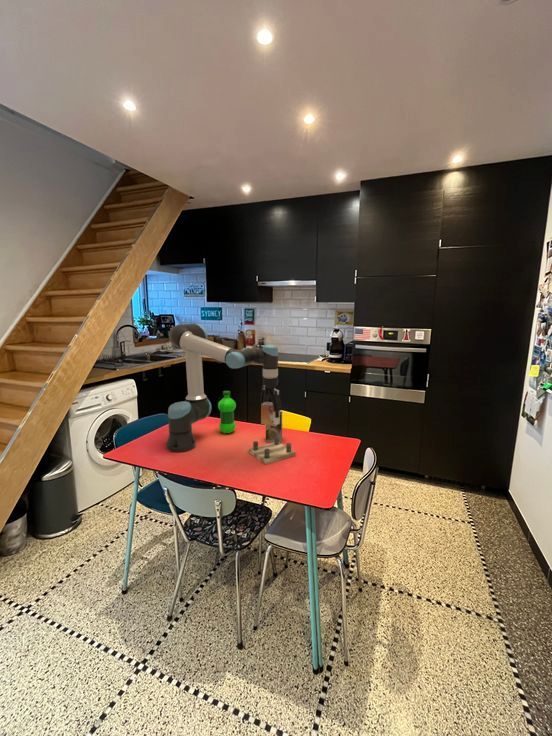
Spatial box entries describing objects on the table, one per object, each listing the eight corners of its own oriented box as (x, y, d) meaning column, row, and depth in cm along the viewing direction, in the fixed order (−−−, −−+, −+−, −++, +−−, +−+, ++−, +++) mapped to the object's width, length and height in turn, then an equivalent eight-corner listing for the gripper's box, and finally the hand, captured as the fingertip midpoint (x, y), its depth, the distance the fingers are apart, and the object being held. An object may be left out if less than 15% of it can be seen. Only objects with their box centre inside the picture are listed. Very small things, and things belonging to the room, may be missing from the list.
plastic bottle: (215, 432, 201) (214, 391, 197) (229, 427, 208) (229, 388, 204) (224, 436, 194) (224, 394, 190) (239, 432, 201) (239, 391, 197)
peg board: (249, 452, 173) (248, 441, 172) (277, 445, 183) (278, 434, 182) (265, 464, 160) (265, 452, 159) (295, 455, 170) (295, 444, 169)
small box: (260, 424, 167) (260, 404, 165) (265, 421, 172) (265, 401, 170) (275, 426, 164) (275, 405, 162) (280, 423, 169) (280, 402, 167)
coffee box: (282, 438, 193) (282, 411, 190) (281, 442, 186) (281, 414, 183) (266, 437, 194) (266, 410, 191) (265, 441, 187) (265, 414, 184)
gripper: (289, 379, 157) (289, 425, 161) (265, 372, 175) (265, 413, 179) (276, 381, 153) (276, 428, 157) (252, 374, 171) (253, 416, 175)
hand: (270, 420), depth 168 cm, fingers closed on small box, 9 cm apart
